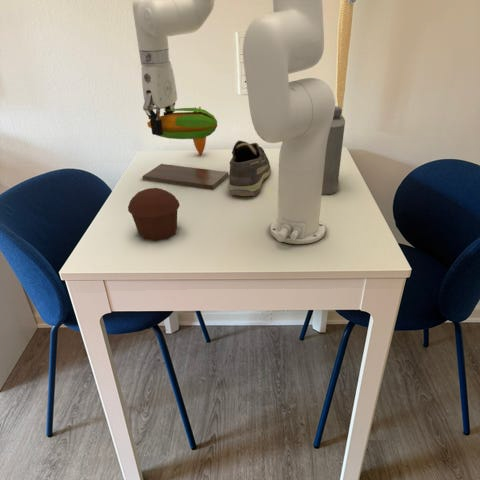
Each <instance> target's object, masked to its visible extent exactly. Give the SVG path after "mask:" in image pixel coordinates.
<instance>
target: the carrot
mask: <svg viewBox="0 0 480 480" xmlns="http://www.w3.org/2000/svg"><path fill="white" fill-rule="evenodd" d="M193 108H197V107H196V106H194V107H193ZM198 109H202V107H201V106H198ZM193 112H196V111H193ZM192 141H193V145H194V148H195V149H196V151H197V154H199V155H200V156H202V155H203V154H204V151H205V147H206V144H207V143H206V142H207V137H205V138H203V139H192Z"/></svg>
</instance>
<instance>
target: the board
mask: <svg viewBox="0 0 480 480" xmlns="http://www.w3.org/2000/svg"><path fill="white" fill-rule="evenodd" d="M227 178H229V171H224V170H215V169H206V168H198V167H191V166H183V165H176V164H175V165H174V164H166V163H160V164H158V165H156V166H155V167H154V168H152V169H151V170H150V171H148V172H146V173H145V174H143V175H142V181H149V182H157V183H162V184H171V185H177V186H186V187H191V188H199V189H207V190H214V189H216V187H218V186H219V185H220V184H221V183H222V182H223V181H224V180H226V179H227Z"/></svg>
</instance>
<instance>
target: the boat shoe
mask: <svg viewBox="0 0 480 480" xmlns="http://www.w3.org/2000/svg"><path fill="white" fill-rule="evenodd" d="M231 154H232V157H231V159H230V161H229V172H228V175H229V176H228V181H229V182H228V185H227V187H228V193H229V195H231V196H240V197H253V196H256V195H258V194H259V193H260V191H261V187H262V183H263V182H264V181H265V180H266V179H267V178H269V177H270V174H271V172H272V171H271V170H272V169H271V164H270V160H269V158H268V156H267V153H266V152H265V150H264V149H263V147H262V146H259V144H258V143H257V142H251V143H249V142H247V141H245V140H238V141H236V142H235V143H234V145H233V148H232V151H231Z"/></svg>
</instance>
